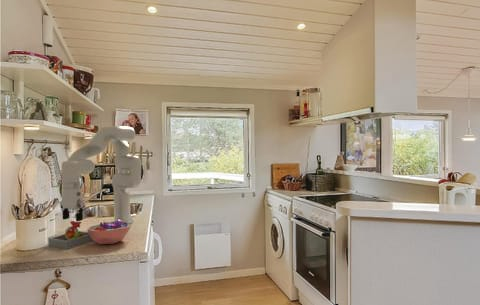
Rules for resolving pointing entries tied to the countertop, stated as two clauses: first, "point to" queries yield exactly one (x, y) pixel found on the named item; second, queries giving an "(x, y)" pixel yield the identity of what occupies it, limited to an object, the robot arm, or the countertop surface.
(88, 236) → the grey picture frame
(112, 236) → the cell model
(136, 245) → the countertop surface
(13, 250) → the countertop surface
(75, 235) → the bird rattle
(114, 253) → the countertop surface
